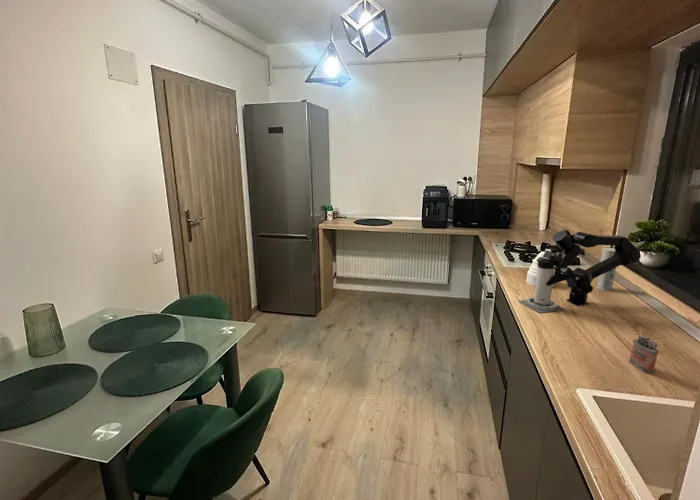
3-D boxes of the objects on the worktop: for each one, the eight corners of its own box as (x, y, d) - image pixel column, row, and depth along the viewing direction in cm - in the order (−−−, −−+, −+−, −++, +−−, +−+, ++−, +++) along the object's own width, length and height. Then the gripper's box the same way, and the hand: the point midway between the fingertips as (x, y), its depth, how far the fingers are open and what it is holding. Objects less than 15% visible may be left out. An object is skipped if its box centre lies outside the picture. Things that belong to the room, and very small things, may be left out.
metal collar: (543, 298, 173) (543, 295, 172) (563, 308, 161) (563, 305, 161) (520, 301, 170) (520, 298, 170) (539, 311, 159) (539, 308, 158)
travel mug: (545, 307, 161) (550, 262, 156) (531, 302, 166) (535, 259, 161) (553, 304, 164) (558, 259, 159) (539, 299, 170) (543, 256, 164)
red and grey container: (625, 360, 122) (631, 332, 120) (635, 359, 123) (641, 331, 120) (646, 374, 115) (653, 344, 112) (657, 374, 115) (663, 344, 112)
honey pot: (559, 284, 192) (564, 249, 187) (545, 289, 185) (550, 253, 180) (535, 277, 202) (539, 244, 198) (521, 282, 195) (525, 248, 191)
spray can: (602, 285, 189) (609, 247, 184) (615, 290, 183) (622, 250, 178) (592, 287, 187) (599, 248, 182) (605, 291, 181) (612, 251, 176)
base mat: (543, 298, 173) (543, 298, 173) (565, 310, 161) (565, 309, 161) (518, 301, 170) (518, 300, 170) (538, 313, 158) (539, 312, 158)
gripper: (542, 239, 168) (517, 264, 169) (573, 249, 150) (545, 278, 151) (556, 255, 172) (531, 280, 173) (588, 266, 154) (560, 294, 155)
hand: (541, 282), depth 163 cm, fingers closed on travel mug, 6 cm apart
